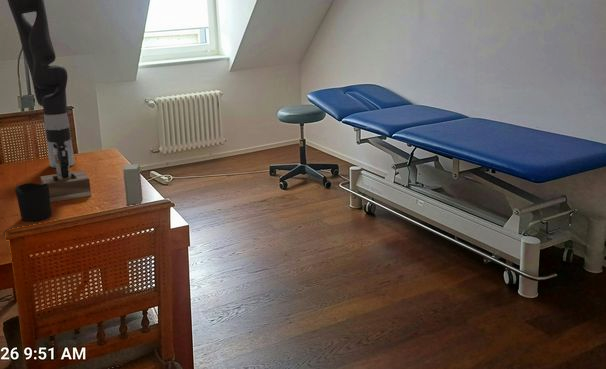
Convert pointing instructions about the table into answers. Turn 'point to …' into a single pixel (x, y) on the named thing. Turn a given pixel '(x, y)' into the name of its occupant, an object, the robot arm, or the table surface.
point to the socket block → (67, 186)
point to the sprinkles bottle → (60, 168)
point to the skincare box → (132, 184)
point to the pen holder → (33, 201)
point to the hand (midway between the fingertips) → (64, 175)
